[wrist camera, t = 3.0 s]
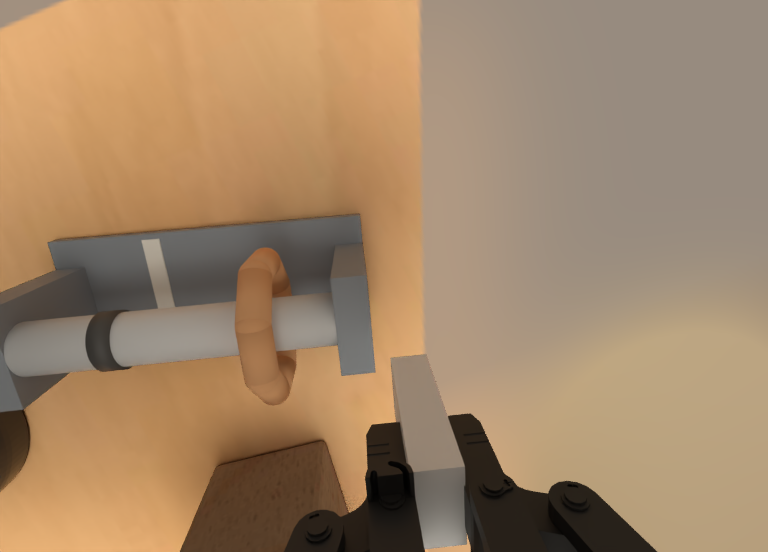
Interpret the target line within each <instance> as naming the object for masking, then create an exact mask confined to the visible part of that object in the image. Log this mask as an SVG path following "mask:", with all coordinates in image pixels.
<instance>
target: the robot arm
mask: <svg viewBox="0 0 768 552" xmlns="http://www.w3.org/2000/svg"><path fill="white" fill-rule="evenodd" d="M391 369H392V382H393V395H394V408H395V417H396V422H394V423H384V424H375V425H371V427H370V429H369V431H368V433H367V435H366V438H367V464H368V470H367V472H366V476H365V481H366V490H367V497H366V500H365V501H364V502H363V504H362V505H361V506H360V507H358V508H357V509H356V510H354V511H352V512H351V513H349V514H346V515H344V516H341V517H340V516H339V515H337V514H336V513H335V512H333V511H329V510H316V511H313V512H311V513H308V514H306V515H305V516H304V517H303V518H301V519H300V520H299V521H298V523H297V524H296V526H295V527H294V529H293V532H292V534H291V536H290V539H289V541H288V543H287V546H286V548H285V550H284V552H425V549H431V548H440V547H448V546H456V545H466V544H467V535H468V539H469V542H470V545H471V552H657V551H656V550H655V549H654V548H653V547H652V546H650V544H649V543H647V542H646V541H645V540H644V539H643V538H642V537H641V536H640V535H639V534H638V533H637V532H636V531H635V530H634V529H633V528H632V527H631V526H630V525H629V524H628V523H627V522H626V521H625V520H624V519H623V518H621V517H620V516H619V515H618V514H617V513H616V512H615V511H614V510H613V509H612V508H611V507H610V506H609V505H608V504H607V503H606V502H605V501H604V500H603V499H602V498H601V497H599V495H598V494H596V493H595V492H594V491H593V490H591V489H590V488H589V487H587V486H585V485H582V484H580V483H577V482H571V481H564V482H558V483H556V484H554V485H553V486H552V487H551V488H550V490H549V493H548V494H547V493H540V492H533V491H529V490H525V489H523V488H520V487H518V486H517V485H516V484H515V483H514V481H513V480H512V479H511V478H510V477H508V476H507V475H505V474H504V473H503V470H502V468H501V466H500V464H499V462H498V460H497V457H496V455H495V453H494V451H493V449H492V447H491V444H490V443H489V440H488V438H487V436H486V434H485V431H484V429H483V427H482V425H481V423H480V421H479V420H477V419H476V418H475V417H474V416H473V415H471V414H461V415H452V416H447V413H446V410H445V407H444V404H443V401H442V399H441V396H440V393H439V390H438V387H437V384H436V381H435V379H434V375H433V373H432V370H431V367H430V364H429V361H428V358H427V355H426V354H424V355H414V356H404V357H394V358H391ZM28 447H29V433H28V427H27V423H26V420H25V417H24V415H23V412H22V410H15V411H5V412H0V492H1V491H2V490H3V489H4V488H5V487H6V486H7V485H8V484H9V483H10V482H11V481H12V480H13V479H14V478H15V477H16V475H17V474H18V473H19V471H20V470H21V468H22V466H23V464H24V462H25V460H26V457H27V453H28Z"/></svg>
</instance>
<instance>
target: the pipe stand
mask: <svg viewBox="0 0 768 552" xmlns="http://www.w3.org/2000/svg"><path fill="white" fill-rule="evenodd" d="M48 246H49V249H50V252H51V255H52V259H53V262H54V265H55V268H56V270H55V271H52V272H50V273H47V274H45V275H42V276H40V277H37V278H35V279H33V280H30V281H28V282H25V283H23V284H20V285H18V286H15V287H13V288H10V289H8V290H6V291H3V292H1V293H0V412H5V411H15V410H23V409H25V408H26V407H27V406H28V405H30V404H31V403H32V402H33V401H35V400H36V399H37V398H39V397H40V396H41V395H42V394H44V393H45V392H46V391H47V390H49V389H50V388H51V387H52V386H54V385H55V384H56V383H57V382H59V381H60V380H61V379H62V378H64V377H65V376H66V375H67V374H69V373H70V372H79V371H89V370H99V371H102V372H105V371H115V370H125V369H129V368H131V367H132V366H138V365H148V364H158V363H168V362H178V361H187V360H197V359H207V358H217V357H227V356H237V355H240V354H239V349H238V344H237V338H236V333H235V311H236V295H237V280H238V271H239V269H240V267H241V266H242V265H243V263H244V262H245V261H246V260H247V259H248V258H249V257H250V256H251V255H252V254H253V253H254V252H255V251H256V250H258V249H260V248H271V249H273V250H275V251H276V252H277V253H278V255H279V256H280V259H281V261H282V264H283V266H284V268H285V271H286V273H287V275H288V278H289V280H290V286H291V293H292V296H286V297H276V298H272V330H273V336H274V342H275V348H276V351H286V350H295V349H305V348H315V347H325V346H335V345H338V349H339V358H340V366H341V375H342V376H346V375H355V374H365V373H374V372H375V361H374V350H373V339H372V328H371V317H370V306H369V295H368V284H367V274H366V266H365V258H364V251H363V243H362V233H361V222H360V214H350V215H339V216H327V217H315V218H304V219H292V220H280V221H269V222H257V223H246V224H234V225H222V226H211V227H199V228H187V229H176V230H164V231H153V232H141V233H129V234H118V235H106V236H95V237H83V238H71V239H60V240H54V241H51V242H48Z"/></svg>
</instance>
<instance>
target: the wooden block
mask: <svg viewBox="0 0 768 552" xmlns="http://www.w3.org/2000/svg"><path fill="white" fill-rule="evenodd" d="M316 510H329V511H333V512H335V513H336V514H337V515H339V516H340V517H341V516H344V515H346V514H348V511H347V508H346V505H345V502H344V499H343V496H342V493H341V489H340V486H339V483H338V480H337V477H336V474H335V471H334V468H333V464H332V461H331V458H330V455H329V452H328V449H327V446H326V444H325V443H324V442H323V441H319V442H315V443H310V444H306V445H302V446H298V447H294V448H290V449H286V450H282V451H278V452H273V453H269V454H265V455H261V456H257V457H253V458H249V459H245V460H240V461H236V462H232V463H228V464H224V465H220V466H218V467H217V468H216V469H215V470H214V472H213V475H212V477H211V479H210V482H209V484H208V486H207V489H206V491H205V494H204V496H203V498H202V501H201V503H200V505H199V508H198V510H197V512H196V515H195V517H194V519H193V522H192V524H191V527H190V529H189V531H188V534H187V536H186V538H185V541H184V543H183V545H182V548H181V550H180V552H284V550H285V548H286V546H287V543H288V541H289V539H290V536H291V534H292V532H293V529H294V527H295V526H296V524H297V523H298V521H299V520H300V519H301V518H303V517H304V516H305V515H306V514H308V513H311V512H313V511H316Z"/></svg>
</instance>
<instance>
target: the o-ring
mask: <svg viewBox="0 0 768 552" xmlns="http://www.w3.org/2000/svg"><path fill="white" fill-rule="evenodd" d="M286 296H292V293H291V286H290V280H289V278H288V275H287V273H286V271H285V268H284V266H283V264H282V261H281V259H280V256H279V255H278V253H277V252H276V251H275V250H273V249H271V248H260V249H258V250H256V251H255V252H254V253H253V254H252V255H251V256H250V257H249V258H248V259H247V260H246V261H245V262H244V263H243V265H242V266H241V267H240V269H239V271H238V280H237V295H236V311H235V333H236V338H237V344H238V349H239V354H240V359H241V364H242V369H243V375H244V380H245V384H246V386H247V387H248V388H249V390H251V391H252V392H253V393H254V394H255V395H256V396H258V397H259V398H260V399H261V400H262V401H264V402H265V403H266V404H269V405H278V404H281V403H283V402H284V401H285V400H286V399H287V398H288V396H289V393H290V390H291V386H292V382H293V378H294V374H295V370H296V349H295V350H286V351H276V348H275V342H274V336H273V330H272V298H276V297H286Z"/></svg>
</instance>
